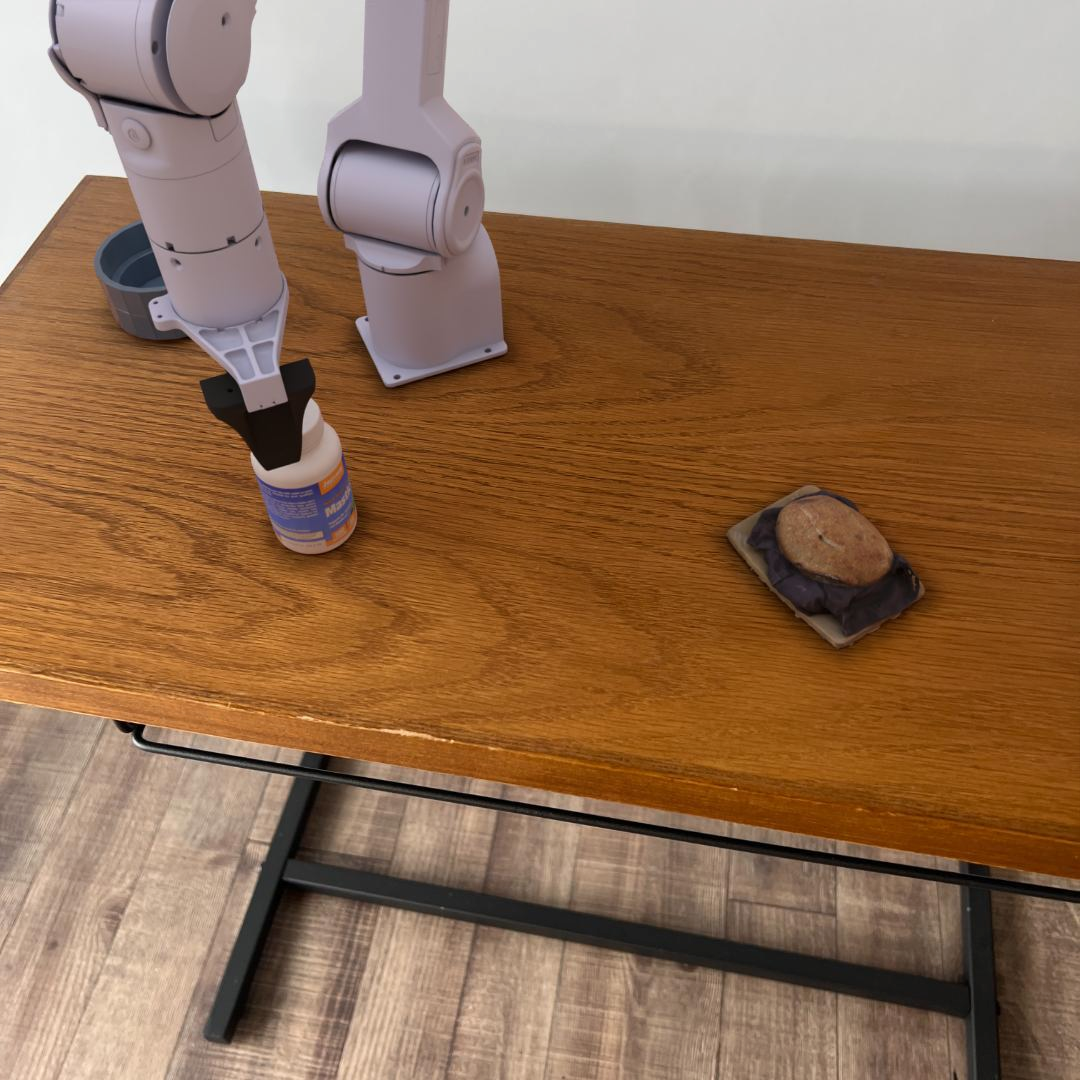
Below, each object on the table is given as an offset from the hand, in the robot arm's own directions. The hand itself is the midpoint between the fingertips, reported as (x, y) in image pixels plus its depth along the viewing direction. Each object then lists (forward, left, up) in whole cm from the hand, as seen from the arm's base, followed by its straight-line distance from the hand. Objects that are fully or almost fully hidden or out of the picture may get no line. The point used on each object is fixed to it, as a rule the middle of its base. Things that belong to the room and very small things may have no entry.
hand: (265, 418), depth 63 cm
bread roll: (-29, +17, -9) cm, 35 cm away
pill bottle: (-1, +1, -9) cm, 9 cm away
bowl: (+3, -25, -9) cm, 27 cm away
